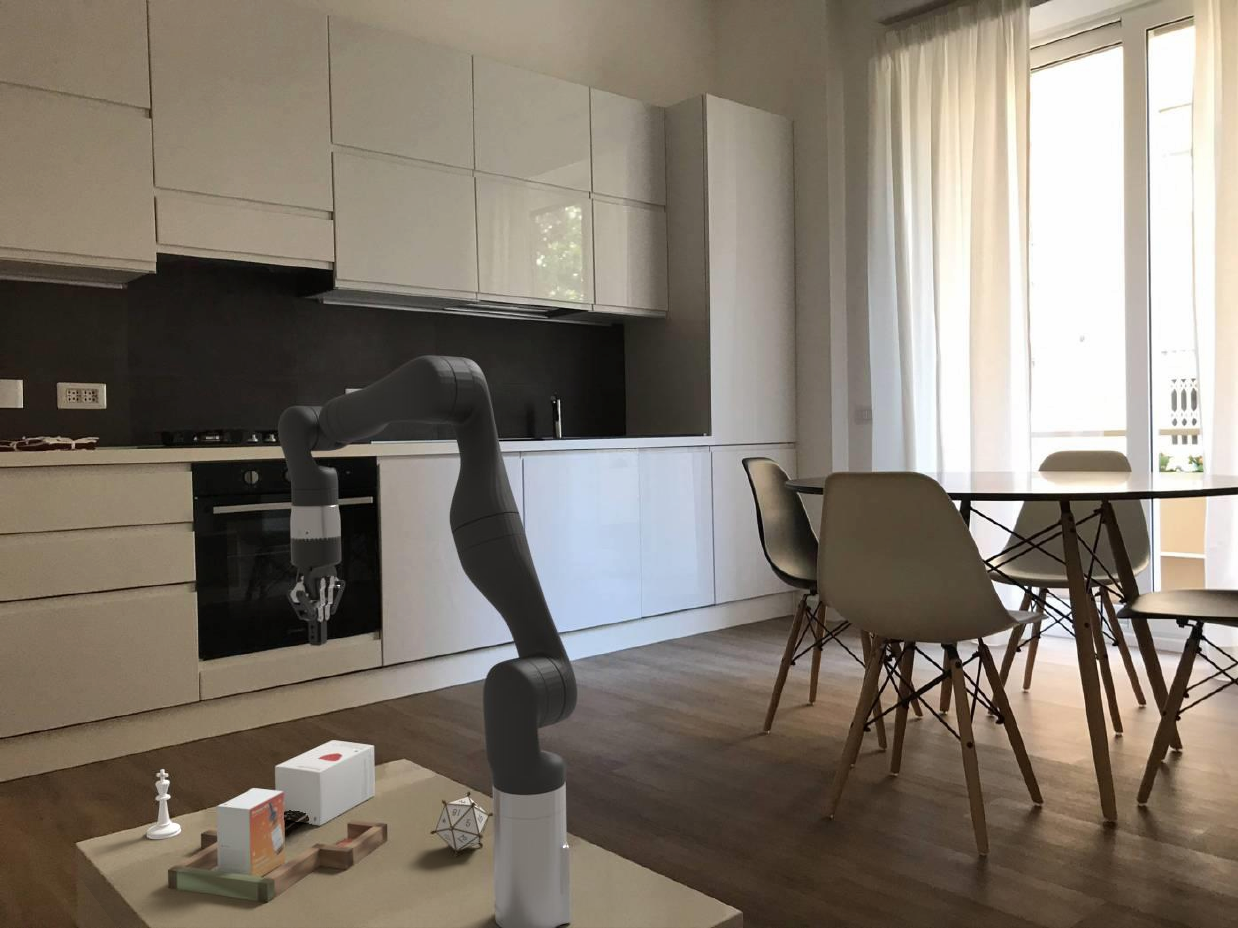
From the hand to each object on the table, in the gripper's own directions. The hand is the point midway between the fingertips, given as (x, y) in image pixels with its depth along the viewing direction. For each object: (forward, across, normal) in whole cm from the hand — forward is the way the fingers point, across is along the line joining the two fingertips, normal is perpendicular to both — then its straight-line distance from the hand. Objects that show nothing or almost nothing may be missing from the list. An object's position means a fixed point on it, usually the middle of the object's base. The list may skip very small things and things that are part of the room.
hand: (318, 644), depth 161 cm
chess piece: (+29, -8, +23) cm, 38 cm away
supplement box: (+24, +16, +4) cm, 29 cm away
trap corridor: (+29, -13, 0) cm, 32 cm away
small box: (+29, -17, 0) cm, 34 cm away
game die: (+29, -2, -25) cm, 39 cm away
